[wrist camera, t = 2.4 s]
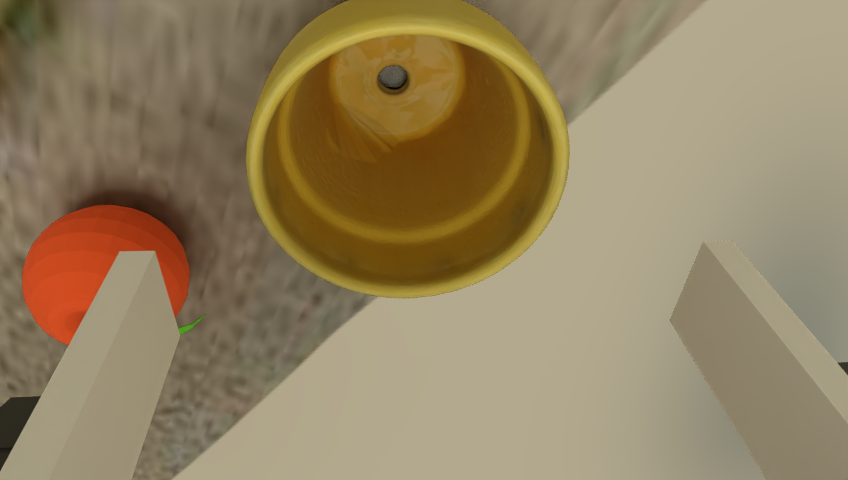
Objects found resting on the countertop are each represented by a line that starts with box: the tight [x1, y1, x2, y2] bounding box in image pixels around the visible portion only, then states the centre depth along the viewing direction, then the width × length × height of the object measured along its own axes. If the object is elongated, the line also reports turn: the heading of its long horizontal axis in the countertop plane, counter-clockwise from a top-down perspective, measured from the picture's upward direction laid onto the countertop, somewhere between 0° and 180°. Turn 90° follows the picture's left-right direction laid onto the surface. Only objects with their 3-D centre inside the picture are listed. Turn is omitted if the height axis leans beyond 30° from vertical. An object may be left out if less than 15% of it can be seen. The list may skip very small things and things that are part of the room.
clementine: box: [22, 205, 205, 345], centre depth 27 cm, size 8×7×7 cm
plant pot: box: [246, 0, 569, 298], centre depth 22 cm, size 10×10×10 cm
